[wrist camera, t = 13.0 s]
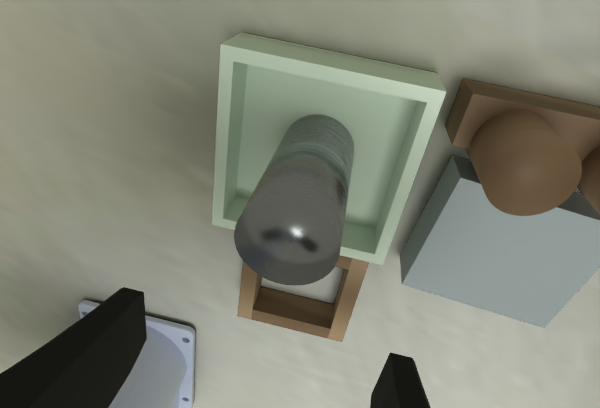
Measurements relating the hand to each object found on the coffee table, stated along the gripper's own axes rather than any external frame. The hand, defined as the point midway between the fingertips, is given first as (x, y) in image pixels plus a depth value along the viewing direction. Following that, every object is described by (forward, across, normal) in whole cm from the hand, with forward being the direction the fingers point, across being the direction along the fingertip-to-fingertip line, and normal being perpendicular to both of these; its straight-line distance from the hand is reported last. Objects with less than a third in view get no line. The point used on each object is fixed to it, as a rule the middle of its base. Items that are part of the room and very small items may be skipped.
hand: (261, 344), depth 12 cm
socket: (+9, -1, +5) cm, 11 cm away
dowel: (+9, 0, -2) cm, 9 cm away
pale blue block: (+10, -9, 0) cm, 13 cm away
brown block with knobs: (+9, -9, -5) cm, 14 cm away
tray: (+9, 0, -2) cm, 10 cm away
